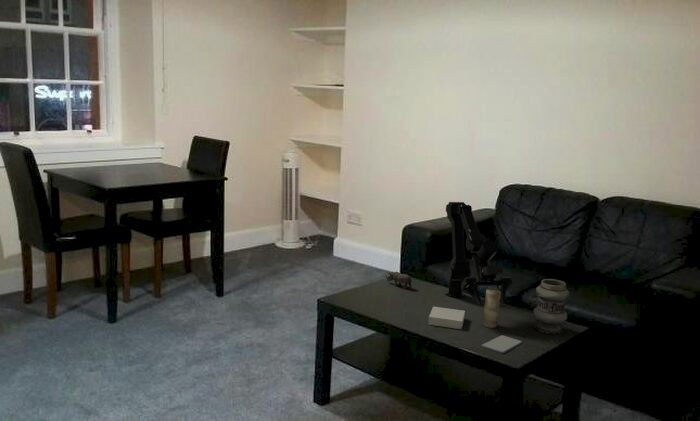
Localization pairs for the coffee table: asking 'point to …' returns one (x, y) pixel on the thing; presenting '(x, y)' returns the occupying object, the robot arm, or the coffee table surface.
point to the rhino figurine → (400, 279)
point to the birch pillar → (491, 308)
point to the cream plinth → (446, 317)
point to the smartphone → (501, 344)
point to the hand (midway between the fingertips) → (491, 304)
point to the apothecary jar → (551, 305)
